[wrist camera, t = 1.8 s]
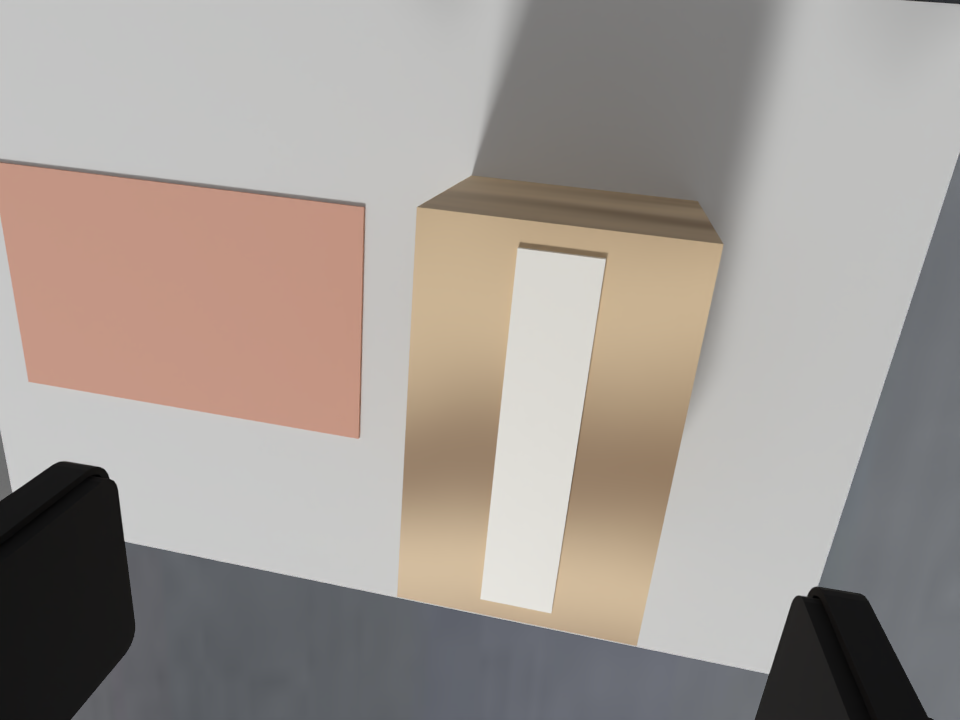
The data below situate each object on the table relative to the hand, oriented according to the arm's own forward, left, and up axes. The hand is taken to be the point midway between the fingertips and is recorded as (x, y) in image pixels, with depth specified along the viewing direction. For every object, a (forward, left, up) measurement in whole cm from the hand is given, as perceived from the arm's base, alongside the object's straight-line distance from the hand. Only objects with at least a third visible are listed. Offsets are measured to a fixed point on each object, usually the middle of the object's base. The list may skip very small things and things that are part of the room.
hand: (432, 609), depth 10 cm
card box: (-1, 0, -10) cm, 10 cm away
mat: (+4, 0, -11) cm, 11 cm away
